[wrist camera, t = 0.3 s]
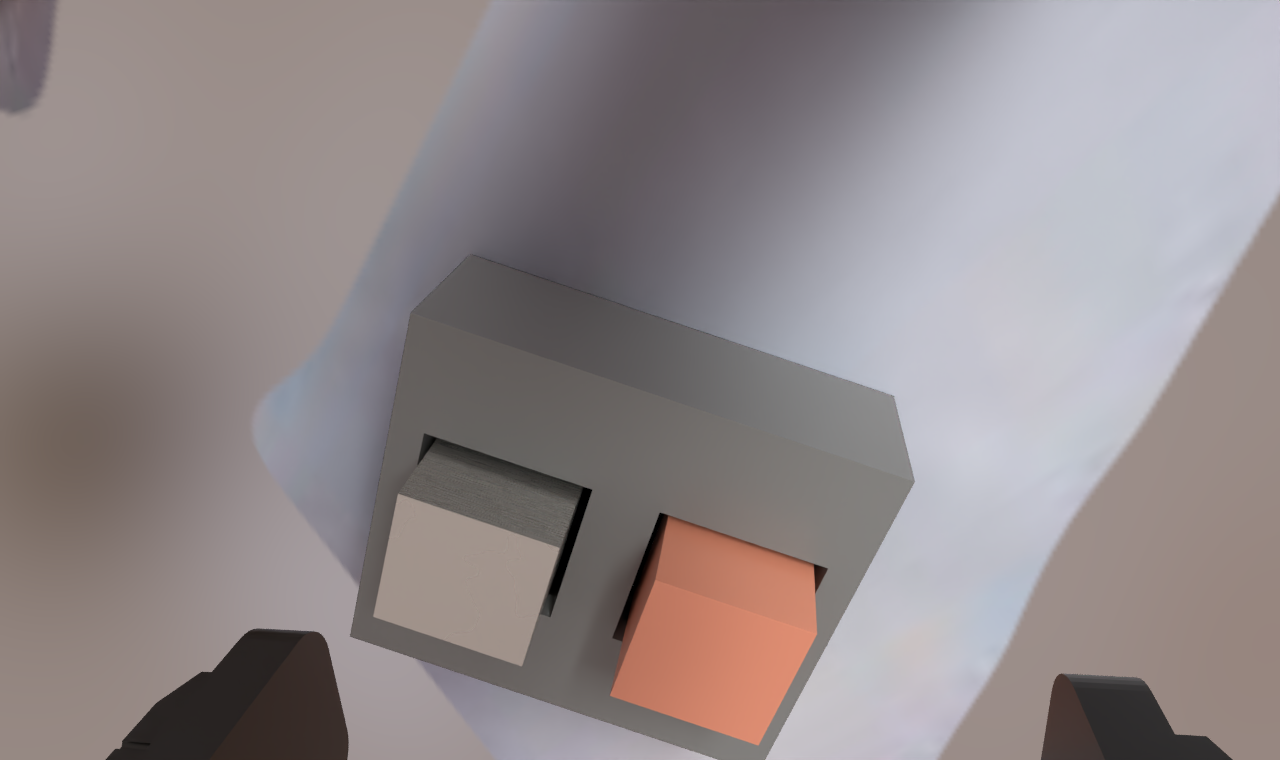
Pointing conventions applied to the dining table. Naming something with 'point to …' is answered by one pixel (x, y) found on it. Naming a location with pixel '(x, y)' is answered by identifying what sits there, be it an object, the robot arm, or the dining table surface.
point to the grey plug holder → (633, 469)
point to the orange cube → (715, 630)
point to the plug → (475, 550)
